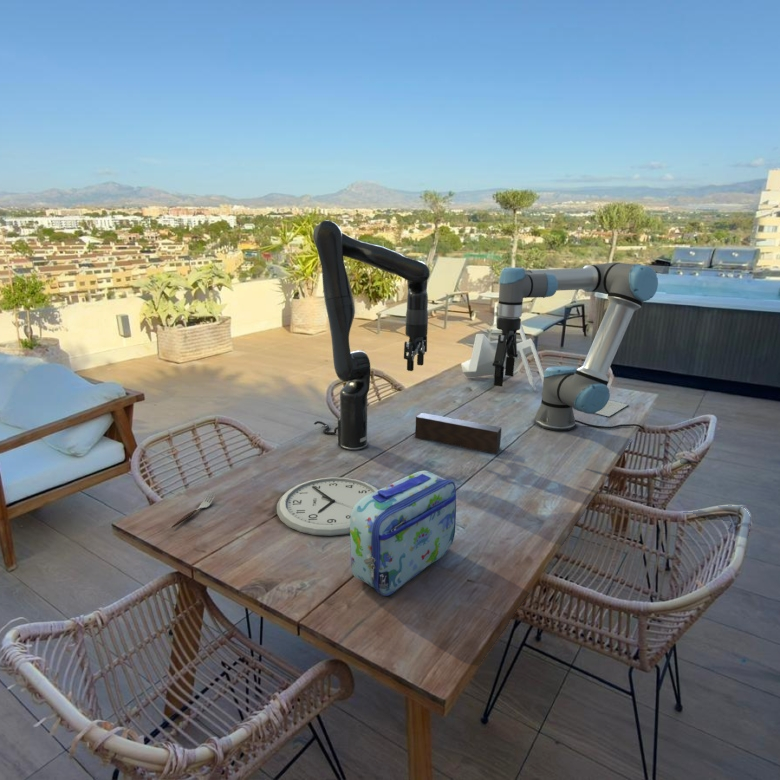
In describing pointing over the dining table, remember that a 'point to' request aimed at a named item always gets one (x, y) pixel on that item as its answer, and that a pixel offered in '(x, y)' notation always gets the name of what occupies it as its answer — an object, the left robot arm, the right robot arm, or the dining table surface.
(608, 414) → the invitation card
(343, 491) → the wall clock
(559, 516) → the dining table surface
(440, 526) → the lunch box
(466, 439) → the walnut beam
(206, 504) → the fork
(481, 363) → the white plastic object
